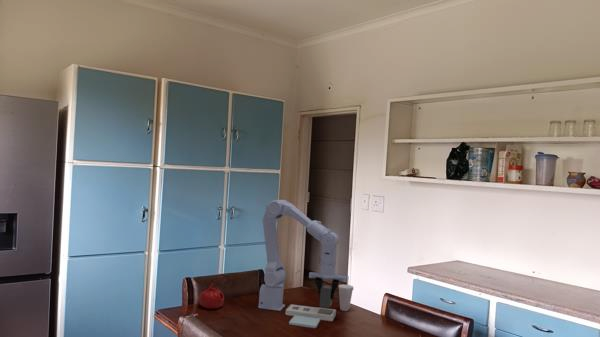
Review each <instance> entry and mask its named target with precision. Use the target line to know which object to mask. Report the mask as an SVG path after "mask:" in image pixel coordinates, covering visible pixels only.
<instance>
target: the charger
mask: <svg viewBox="0 0 600 337" xmlns="http://www.w3.org/2000/svg"><path fill="white" fill-rule="evenodd" d="M331 293H332V285H329V284H328V285H326V284H322V287H321V291H320V298H319V307H320V308H328V309H331V306H332V305H333V300H332V299H331Z"/></svg>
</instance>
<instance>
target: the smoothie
mask: <svg viewBox="0 0 600 337" xmlns="http://www.w3.org/2000/svg"><path fill="white" fill-rule="evenodd" d="M337 287H338V295H339V296H338V297H339V298H338V299H339V309H340V311H344V312H348V310H350V306H351V303H352V302H351V301H352V296H353V291H354V286H353V285H350V284H349V275H347V276H346V284H338V286H337Z"/></svg>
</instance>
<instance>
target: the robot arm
mask: <svg viewBox="0 0 600 337" xmlns="http://www.w3.org/2000/svg"><path fill="white" fill-rule="evenodd" d="M283 216H287V217H288V216H289V217H292V218H293V219H294V220H296V221H298V223H300V224H302V225H303V226H304V227H305V228H306V232H307V233H308V234H309V235H311V236H312V237H313V238H315V239H316V240H317V241H318V242H320V245H321V246H322V249H321V250H322V251H321V260H320V261H321V263H320V264H321V265H320V272H314V271H313V272H311V271H310V272H309V273H308V278H309V279H315V280H314V282H315V285H316V288H317V291H318V292H317V293H318V298H319V299H320V291H321V287H322V286H323V285H324V284H323V283H324V280H328V281H331V286H332V293H331V299H332V301H333V299H334V296H335V293H336V290H337V287H338V286H339V285H340V284H339V283H340V282H343V283H347V276H346V275H340V274H336V268H337V266H336V264H337V250H338V248H337V247H338V244H339V242H340V237H339V235H338V234H337V233H336V232H335V231H332V230H331V229H330V228H327V227H325V226H324V225H323V224H322V221H320V220H316V219H315V220H312V219H311V218H309V217H308V216H307V215H305V213H303V212H302V211H301V210H300V209H298V208H297V206H295V205H294V204H293V203H291V202H289V201H288V200H286V199H283V198H282V199H272V200H270V202H268V204H267V205H266V207H265V212H264V215H263V217H262V225H263V226H262V227H263V234H264V242H265V251H266V261H267V264H266V265H265V269H264V271H265V272H264V277H263V279H264V280H263V281H264V283H265V284H264V283H263V284H261V286H260V288H259V297H258V306H257V308H258V309H262V310H263V309H264V310H272V311H278V312H279V311H282V310H283V308H285V306H286V304H284V303H283V301H284V288H285V286H284V285H285V284H284V282H285V281H286V280H287V276H288V275H287V272H286V270H285V268H284V263H283V262H282V261H281V253H280V246H279V237H278V229H277V223H278V221H279V220H280V219H281V218H282V217H283Z"/></svg>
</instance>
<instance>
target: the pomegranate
mask: <svg viewBox="0 0 600 337" xmlns="http://www.w3.org/2000/svg"><path fill="white" fill-rule="evenodd" d="M201 289H204V290H203V291H202V292H201V293H200V295H199V304H200V306H201V307H202V308H205V309H207V310H215V309H219V308H221V307H222V306H223V305H224V301H225V295H224V293H223V292H222V290H221V288H220V287H219V286H216V287H214V283H212V282H211V284H210V285H209V286H208V287H203V288H202V287H201Z"/></svg>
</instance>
